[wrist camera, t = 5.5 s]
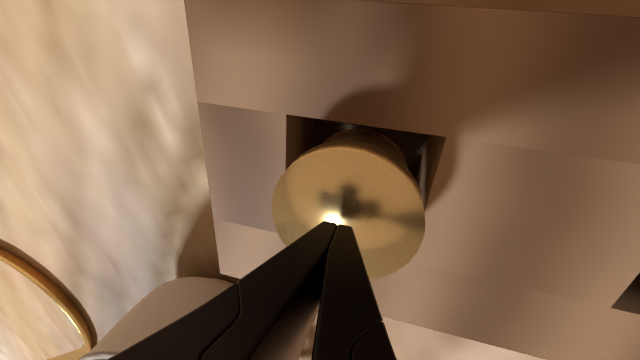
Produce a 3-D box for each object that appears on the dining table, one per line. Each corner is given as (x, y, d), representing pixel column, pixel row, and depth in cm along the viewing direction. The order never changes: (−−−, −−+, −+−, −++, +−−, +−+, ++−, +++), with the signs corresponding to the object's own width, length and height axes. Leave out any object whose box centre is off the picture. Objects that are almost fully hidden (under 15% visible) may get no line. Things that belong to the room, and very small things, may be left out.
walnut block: (1062, 55, 8) (1586, 75, 4) (730, 333, 13) (842, 437, 10) (244, 1, 12) (182, -10, 9) (255, 227, 18) (220, 273, 15)
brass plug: (433, 127, 10) (445, 166, 7) (405, 233, 13) (406, 294, 10) (305, 110, 11) (270, 138, 8) (300, 212, 13) (271, 262, 11)
